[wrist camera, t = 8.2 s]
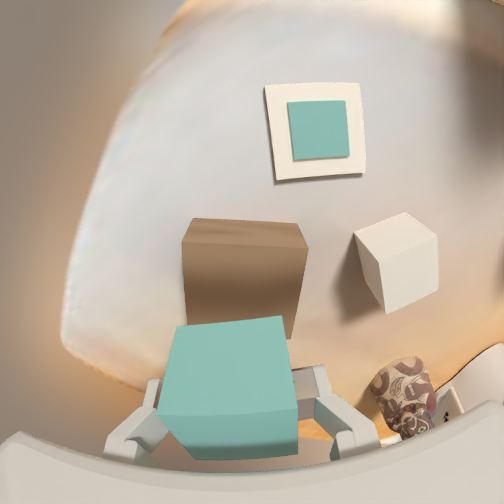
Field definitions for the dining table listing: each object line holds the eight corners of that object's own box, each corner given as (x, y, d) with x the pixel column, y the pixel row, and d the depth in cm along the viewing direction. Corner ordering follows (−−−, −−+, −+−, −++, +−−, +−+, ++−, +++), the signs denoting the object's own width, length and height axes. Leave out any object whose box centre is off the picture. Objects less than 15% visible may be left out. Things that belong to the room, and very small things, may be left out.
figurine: (412, 346, 25) (456, 433, 14) (427, 367, 28) (463, 440, 17) (360, 382, 27) (388, 471, 17) (383, 397, 30) (409, 471, 19)
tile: (363, 171, 17) (367, 173, 16) (275, 178, 17) (277, 180, 17) (357, 83, 14) (360, 83, 14) (264, 86, 14) (264, 85, 14)
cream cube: (410, 259, 20) (438, 289, 16) (364, 279, 21) (385, 314, 17) (404, 211, 18) (437, 235, 14) (353, 231, 19) (378, 261, 15)
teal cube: (286, 378, 13) (297, 454, 9) (202, 385, 13) (195, 459, 9) (281, 315, 11) (297, 407, 7) (177, 326, 11) (156, 414, 7)
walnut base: (283, 304, 22) (290, 339, 18) (196, 300, 22) (188, 334, 18) (296, 222, 19) (308, 248, 15) (193, 216, 18) (181, 241, 15)
